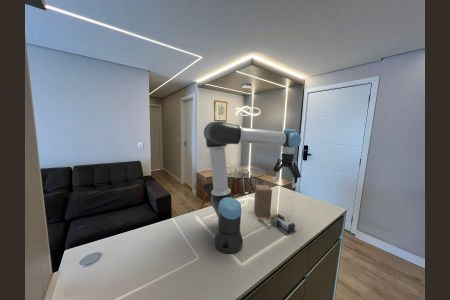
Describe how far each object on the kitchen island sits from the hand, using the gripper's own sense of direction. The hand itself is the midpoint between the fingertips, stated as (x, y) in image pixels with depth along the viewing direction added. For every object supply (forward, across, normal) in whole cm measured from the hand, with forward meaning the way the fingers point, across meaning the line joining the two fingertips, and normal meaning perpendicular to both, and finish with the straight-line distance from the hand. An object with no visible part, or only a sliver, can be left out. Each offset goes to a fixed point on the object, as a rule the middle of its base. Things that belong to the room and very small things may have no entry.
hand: (284, 184), depth 112 cm
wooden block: (+25, +12, +7) cm, 29 cm away
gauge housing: (+25, -3, +10) cm, 27 cm away
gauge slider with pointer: (+24, -6, +11) cm, 27 cm away
